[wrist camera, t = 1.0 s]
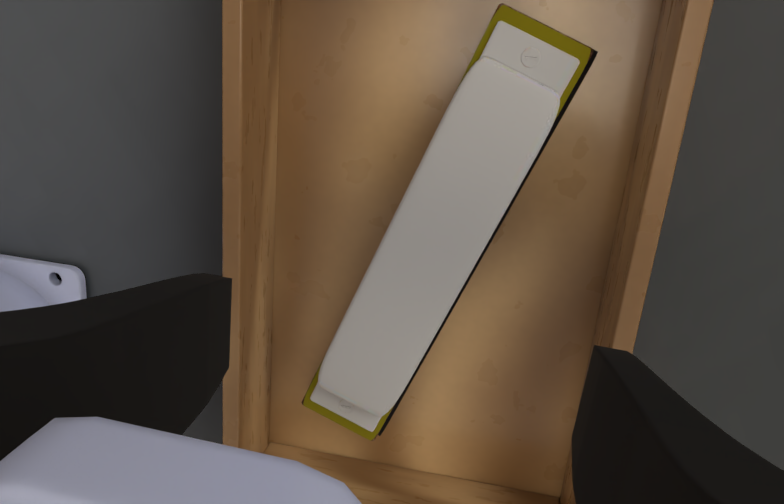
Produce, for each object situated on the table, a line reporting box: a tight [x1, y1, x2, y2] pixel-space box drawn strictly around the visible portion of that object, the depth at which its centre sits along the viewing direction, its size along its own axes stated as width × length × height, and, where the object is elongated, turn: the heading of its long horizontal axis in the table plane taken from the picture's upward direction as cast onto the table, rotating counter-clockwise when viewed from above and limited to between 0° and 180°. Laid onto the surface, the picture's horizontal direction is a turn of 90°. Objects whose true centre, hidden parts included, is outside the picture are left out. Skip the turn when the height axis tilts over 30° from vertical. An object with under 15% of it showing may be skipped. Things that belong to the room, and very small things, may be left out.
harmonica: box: [301, 3, 598, 441], centre depth 20 cm, size 15×3×2 cm, turn 155°
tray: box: [222, 0, 714, 504], centre depth 20 cm, size 12×19×3 cm, turn 175°
